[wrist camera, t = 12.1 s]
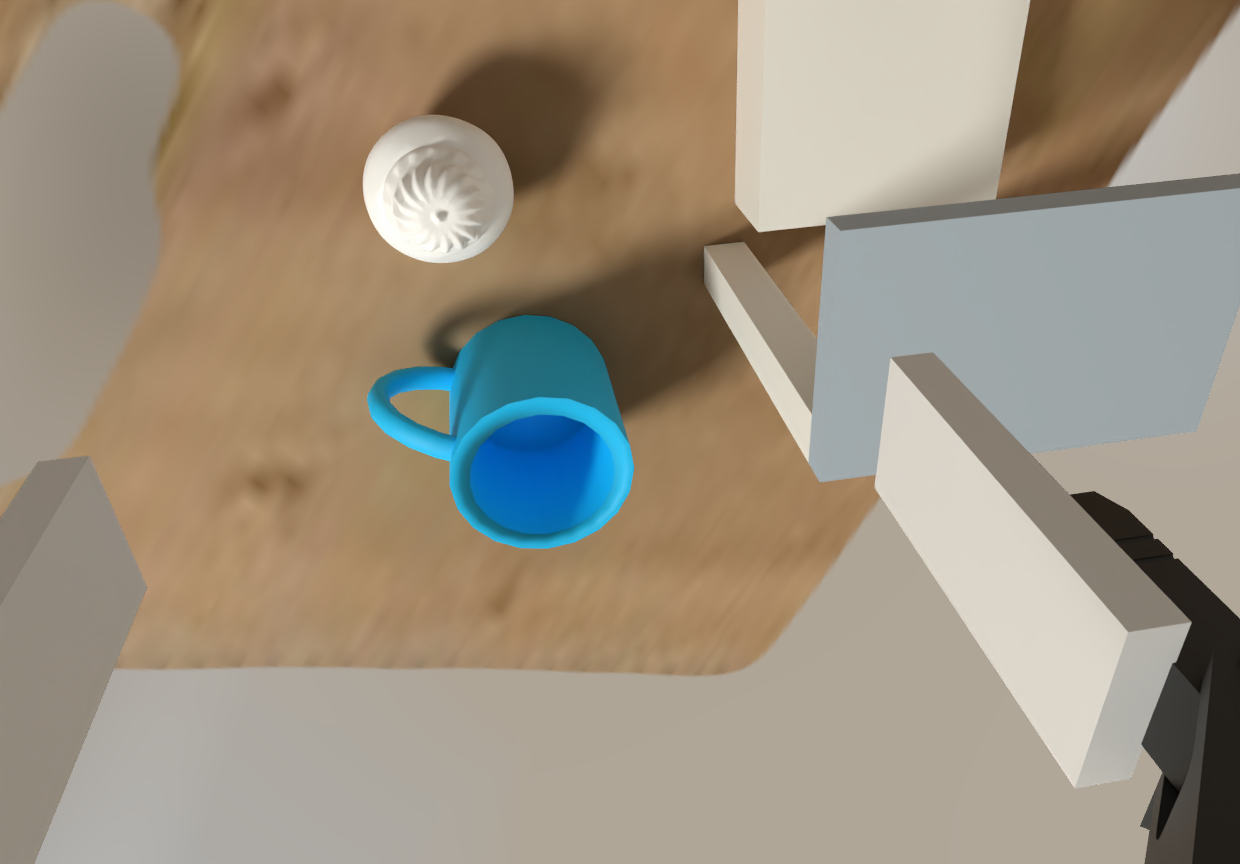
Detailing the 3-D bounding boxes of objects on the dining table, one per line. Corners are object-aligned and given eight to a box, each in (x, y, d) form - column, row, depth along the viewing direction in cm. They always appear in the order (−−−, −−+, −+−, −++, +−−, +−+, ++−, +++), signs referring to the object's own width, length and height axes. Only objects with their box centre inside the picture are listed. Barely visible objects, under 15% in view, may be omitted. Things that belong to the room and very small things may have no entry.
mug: (627, 333, 47) (658, 416, 40) (583, 464, 51) (604, 559, 44) (388, 280, 43) (377, 361, 37) (359, 425, 47) (344, 522, 41)
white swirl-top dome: (441, 63, 39) (439, 102, 33) (538, 172, 42) (552, 224, 36) (338, 161, 40) (319, 215, 34) (439, 259, 43) (437, 324, 37)
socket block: (742, -237, 35) (773, -246, 31) (1017, -251, 36) (1075, -261, 33) (734, 202, 44) (758, 232, 41) (954, 180, 45) (994, 207, 42)
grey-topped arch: (703, 96, 41) (840, 230, 27) (1000, 70, 43) (1281, 183, 28) (704, 284, 46) (819, 482, 32) (970, 254, 47) (1196, 431, 33)
